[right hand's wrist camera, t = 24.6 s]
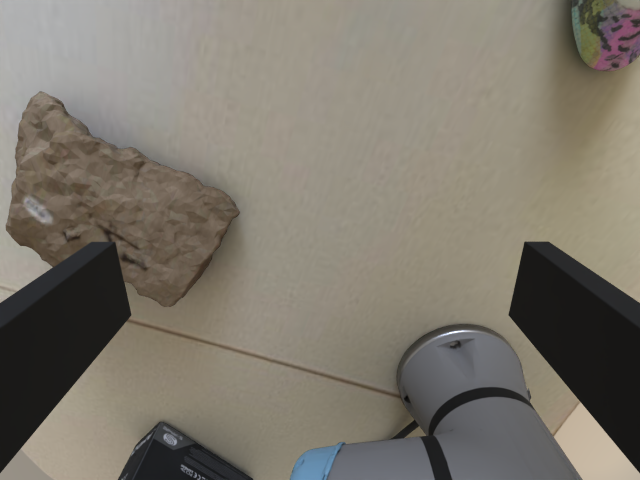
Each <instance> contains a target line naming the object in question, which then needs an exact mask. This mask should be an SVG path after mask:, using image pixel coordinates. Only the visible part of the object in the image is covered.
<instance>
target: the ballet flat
mask: <svg viewBox="0 0 640 480" xmlns="http://www.w3.org/2000/svg"><path fill="white" fill-rule="evenodd" d="M572 25H573V32H574V37H575V40H576V45H577V48H578V52H579V54H580V56H581V58H582V59H583V61H584V62H585V63H586V64H587V65H588V66H590V67H591V68H594V69H596V70H600V71H614V70H618V69H620V68H623V67H625V66H627V65H628V64H630V63H631V62H633V61H634V60H635V59H636V58H637V57H639V55H640V0H572Z"/></svg>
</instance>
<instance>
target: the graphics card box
mask: <svg viewBox="0 0 640 480" xmlns="http://www.w3.org/2000/svg"><path fill="white" fill-rule="evenodd" d="M118 480H253V479H252V478H251V477H249V476H247V475H246V474H244V473H243V472H241V471H240V470H238V469H236V468H235V467H233V466H232V465H230V464H229V463H227V462H226V461H224V460H222V459H221V458H219V457H218V456H216V455H215V454H213V453H211V452H210V451H208V450H206V449H205V448H203V447H202V446H200V445H198V444H197V443H195V442H194V441H193V440H191V439H189V438H188V437H186V436H185V435H183V434H181V433H180V432H178V431H177V430H175V429H174V428H172V427H170V426H169V425H167V424H166V423H164V422H159V423H158V424H157V425H156V426H155V427H154V428H153V429H152V430H151V431H150V432H149V433H148V434H147V435H146V436H145V437H144V438H143V439H142V440H141V441H140V442H138V444H137V445H136V446H135V448H134V450H133V452H132V454H131V456H130V458H129V460H128V461H127V463H126V465H125V467H124V469H123V471H122V473H121V475H120V477H119V479H118Z"/></svg>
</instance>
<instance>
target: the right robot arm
mask: <svg viewBox="0 0 640 480" xmlns="http://www.w3.org/2000/svg"><path fill="white" fill-rule="evenodd" d="M130 316H131V311H130V307H129V302H128V297H127V293H126V288H125V284H124V279H123V274H122V270H121V265H120V261H119V256H118V252H117V247H116V242H90V243H89V244H87V245H86V246H84V247H83V248H81V249H80V250H78V251H77V252H76V253H74V254H73V255H71V256H70V257H68V258H67V259H65V260H64V261H62V262H61V263H59V264H58V265H56V266H55V267H53V268H52V269H50V270H49V271H47V272H46V273H44V274H43V275H41V276H40V277H38V278H37V279H35V280H34V281H32V282H31V283H29V284H28V285H26V286H25V287H24V288H22V289H21V290H19V291H18V292H16V293H15V294H13V295H12V296H10V297H9V298H7V299H6V300H4V301H3V302H1V303H0V473H1V472H2V470H3V469H4V468H5V467H6V466H7V464H8V463H9V462H10V461H11V460H12V458H13V457H14V456H15V455H16V453H17V452H18V451H19V450H20V449H21V447H22V446H23V445H24V444H25V443H26V441H27V440H28V439H29V438H30V437H31V435H32V434H33V433H34V432H35V431H36V429H37V428H38V427H39V426H40V425H41V423H42V422H43V421H44V420H45V419H46V417H47V416H48V415H49V414H50V413H51V411H52V410H53V409H54V408H55V407H56V405H57V404H58V403H59V402H60V400H61V399H62V398H63V397H64V396H65V394H66V393H67V392H68V391H69V390H70V388H71V387H72V386H73V385H74V384H75V382H76V381H77V380H78V379H79V378H80V376H81V375H82V374H83V373H84V372H85V370H86V369H87V368H88V367H89V366H90V364H91V363H92V362H93V361H94V360H95V358H96V357H97V356H98V355H99V354H100V352H101V351H102V350H103V349H104V348H105V346H106V345H107V344H108V343H109V341H110V340H111V339H112V338H113V337H114V335H115V334H116V333H117V332H118V331H119V329H120V328H121V327H122V326H123V325H124V323H125V322H126V321H127V320H128V319H129V317H130ZM509 316H510V317H511V319H512V320H513V321H514V322H515V323H516V325H517V326H518V327H519V328H520V329H521V331H522V332H523V333H524V334H525V335H526V337H527V338H528V339H529V340H530V341H531V343H532V344H533V345H534V346H535V348H536V349H537V350H538V351H539V352H540V354H541V355H542V356H543V357H544V358H545V360H546V361H547V362H548V363H549V364H550V366H551V367H552V368H553V369H554V370H555V372H556V373H557V374H558V375H559V376H560V378H561V379H562V380H563V381H564V382H565V384H566V385H567V386H568V387H569V388H570V390H571V391H572V392H573V393H574V394H575V396H576V397H577V398H578V399H579V400H580V402H581V403H582V404H583V405H584V407H585V408H586V409H587V410H588V411H589V413H590V414H591V415H592V416H593V417H594V419H595V420H596V421H597V422H598V423H599V425H600V426H601V427H602V428H603V429H604V431H605V432H606V433H607V434H608V435H609V437H610V438H611V439H612V440H613V441H614V443H615V444H616V445H617V446H618V447H619V449H620V450H621V451H622V452H623V453H624V455H625V456H626V457H627V458H628V459H629V461H630V462H631V463H632V464H633V466H634V467H635V468H636V469H637V470H638V471H639V473H640V303H639V302H637V301H636V300H634V299H633V298H631V297H630V296H628V295H627V294H625V293H624V292H622V291H621V290H619V289H618V288H616V287H615V286H614V285H612V284H611V283H609V282H608V281H606V280H605V279H603V278H602V277H600V276H599V275H597V274H596V273H594V272H593V271H591V270H590V269H588V268H587V267H585V266H584V265H582V264H581V263H579V262H578V261H576V260H575V259H573V258H572V257H570V256H569V255H567V254H566V253H564V252H563V251H562V250H560V249H559V248H557V247H556V246H554V245H553V244H551V243H550V242H524V247H523V252H522V256H521V261H520V265H519V270H518V274H517V279H516V284H515V288H514V293H513V297H512V302H511V307H510V311H509ZM397 384H398V388H399V392H400V396H401V399H402V401H403V404H404V405H405V407H406V408H407V410H408V411H409V413H410V414H411V415H412V417H413V418H414V419H415V420H414V421H413V422H411V423H410V424H409V425H408V426H406V427H405V428H404V429H403V430H402V431H400V432H399V433H398V434H397V435H396V436H395V437H393V438H392V439H390V440H382V441H372V442H362V443H352V444H346V443H345V442H340V443H338V444H337V445H336V446H329V447H323V448H317V449H311V450H308V451H306V452H305V453H304V454H302V455H301V456H300V458H299V459H298V460H297V462H296V464H295V466H294V468H293V471H292V474H291V477H290V480H582V478H581V477H580V475H579V474H578V472H577V471H576V469H575V468H574V467H573V465H572V464H571V462H570V461H569V459H568V458H567V456H566V455H565V453H564V452H563V450H562V449H561V447H560V446H559V444H558V443H557V442H556V440H555V439H554V437H553V436H552V434H551V433H550V431H549V430H548V428H547V427H546V425H545V424H544V422H543V421H542V419H541V418H540V416H539V415H538V414H537V412H536V411H535V409H534V408H533V406H532V405H531V403H530V399H531V395H530V391H529V388H528V391H527V388H526V384H525V380H524V376H523V370H522V366H521V363H520V360H519V358H518V356H517V354H516V353H515V351H514V350H513V349H512V347H511V346H510V345H509V343H508V342H507V341H506V340H505V339H504V338H503V337H502V336H501V335H499V334H498V333H496V332H494V331H492V330H490V329H488V328H485V327H481V326H477V325H468V324H460V325H451V326H446V327H443V328H440V329H437V330H434V331H432V332H430V333H428V334H426V335H424V336H423V337H421V338H420V339H418V340H417V341H416V342H415V343H414V344H413V345H412V346H411V347H410V348H409V349H408V350H407V351H406V353H405V354H404V356H403V357H402V359H401V361H400V364H399V367H398V371H397ZM418 426H420V427H421V429H422V430H423V431H424V433H425V434H426V435H427V436H422V437H412V438H405V437H406V436H407V435H408V434H409V433H411V432H412V431H413V430H415V429H416V428H417V427H418Z"/></svg>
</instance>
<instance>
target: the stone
mask: <svg viewBox="0 0 640 480" xmlns="http://www.w3.org/2000/svg"><path fill="white" fill-rule="evenodd" d="M15 159H16V163H17V169H16V179H15V180H14V182H13V184H12V200H11V205H10V210H9V216H8V221H7V223H6V231H7V232H8V233H9V234H10V235H11V237H12V238H13V239H14V240H15V241H16V242H17V243H18V244H19V245H20V246H27V247H29V248H32V249H33V250H34V251H36V252H37V253H38V254H39V255H40V257H41V258H42V260H44V261H46V262H48V263H49V264H50V265H51V266H52V267H55V266H56V265H58V264H59V263H61V262H62V261H64V260H65V259H67V258H68V257H70V256H71V255H73V254H74V253H76V252H77V251H78V250H80V249H81V248H83V247H84V246H86V245H87V244H89V243H90V242H116V247H117V252H118V256H119V261H120V265H121V270H122V274H123V279H124V282H128V283H131V284H132V285H133V286H134V287H135V288H136V290H137V292H138V294H139V295H142V296H146V297H149V298H152V299H153V300H155V301H157V302H158V303H159V304H160V305H162V306H164V307H170V306H173V305H175V304H176V302H177V301H178V300H179V299H180V298H183V297H184V296H185V295H186V293H187V292H188V290H189V289H190V288H191V287H192V286H193V285H194V283H195V282H196V281H197V280H198V279H199V278H200V277H201V275H202V273H203V272H204V270H205V268H206V267H208V265H209V263H210V261H211V259H212V253H213V252H214V251H215V250H216V249H217V248H218V247H219V246H220V244H221V239H222V238H223V236H224V235H225V233H226V232H227V228H228V226H229V225H230V223H231V221H232V219H233V218H235V217H237V216H238V215H239V213H240V211H239V210H238V208H237V207H236V205H235V203H234V201H233V200H231V198H230V197H229V196H228V195H226V194H225V193H224V192H223V191H221V190H218V189H216V188H214V187H207V186H203V185H202V183H201V182H200V181H199V180H197V179H196V178H195V177H193V176H192V175H191V174H188V173H185V172H181V171H176V170H174V169H171V168H169V167H166V166H161V165H160V164H159V163H157V162H154V161H151V160H149V159H148V158H147V157H146V156H144V155H143V154H141V153H140V152H139V151H138V150H137V149H135V148H132V147H129V148H127V149H118V148H117V147H116V146H115V145H112V144H109V143H106V142H105V141H103V140H102V139H100V138H95V137H92V135H91V134H90V132H89V130H88V128H87V127H86V126H85V125H84V124H83V123H82V122H80V121H79V120H78V119H76V118H74V117H72V116H70V115H69V114H68V112H67V111H66V109H65V107H64V104H63V103H62V101H60V100H58V99H57V98H54V97H52V96H49V95H48V94H46V93H44V92H39V93H38V94H37V95H35V96H34V97H32V98H31V99H30V101H29V103H28V105H27V108H26V110H25V111H24V112H23V114H22V120H21V122H20V123H19V131H18V143H17V147H16V155H15Z"/></svg>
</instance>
